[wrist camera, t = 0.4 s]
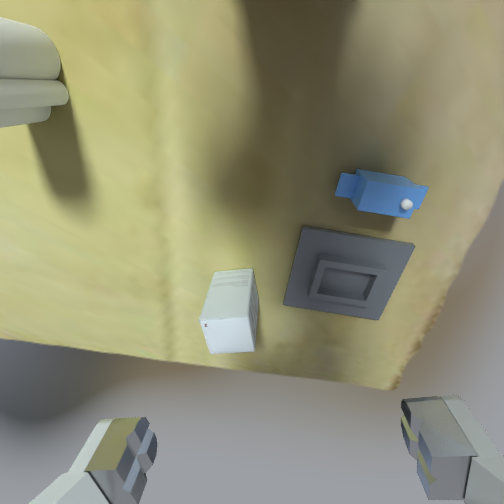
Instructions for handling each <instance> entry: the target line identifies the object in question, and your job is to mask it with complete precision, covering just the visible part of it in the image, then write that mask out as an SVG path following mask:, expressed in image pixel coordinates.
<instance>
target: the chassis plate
mask: <svg viewBox="0 0 504 504" xmlns="http://www.w3.org/2000/svg"><path fill="white" fill-rule="evenodd" d="M414 248H415V245H414V244H413V243H407V242H401V241H395V240H388V239H382V238H376V237H370V236H364V235H358V234H351V233H345V232H339V231H333V230H327V229H321V228H314V227H308V226H302V230H301V234H300V238H299V242H298V246H297V250H296V254H295V257H294V261H293V265H292V269H291V273H290V277H289V281H288V285H287V289H286V293H285V296H284V300H283V305H286V306H292V307H299V308H305V309H311V310H317V311H324V312H330V313H336V314H342V315H349V316H355V317H361V318H367V319H374V320H379V318H380V316H381V314H382V312H383V310H384V308H385V306H386V304H387V302H388V300H389V298H390V296H391V294H392V292H393V290H394V288H395V286H396V284H397V282H398V280H399V278H400V276H401V274H402V272H403V270H404V268H405V266H406V264H407V262H408V260H409V258H410V256H411V254H412V252H413V250H414Z"/></svg>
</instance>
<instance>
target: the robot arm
mask: <svg viewBox="0 0 504 504" xmlns="http://www.w3.org/2000/svg"><path fill="white" fill-rule="evenodd" d="M401 409H402V411H403V413H404V415H403V416H402V417H401V428H402V433H403V437H404V440H405V444H406V446H407V448H408V451H409V454H410V455H411V456H412V457H414V458H415V459H416V460H417V473H418V476H419V478H420V480H421V483H422V485H423V488H424V490H425V492H426V495H427V497H428V500H464V503H465V504H504V456H502V454H501V453H500V452H499V450H498V449H497V447H496V446H495V444H494V443H493V441H492V440H491V438H490V437H489V436H488V434H487V433H486V431H485V430H484V428H483V427H482V426H481V424H480V423H479V421H478V420H477V418H476V417H475V416H474V414H473V413H472V411H471V410H470V408H469V407H468V405H467V404H466V403H465V401H464V400H463V399H462V398H461V397H460V396H459V395H453V396H440V397H437V396H433V397H421V398H411V399H410V398H409V399H402V401H401ZM149 424H150V423H149V422H148V420H147V418H146V417H139V418H115V419H102V420H101V421H100V422H99V423H97V425H96V427H95V428H94V430H93V432H92V433H91V435H90V436H89V438H88V440H87V441H86V443H85V445H84V446H83V448H82V450H81V451H80V453H79V455H78V456H77V458H76V460H75V461H74V463H73V465H72V467H71V468H70V470H69V472H68V473H63V474H62V475H61V476H60V477H58V478H57V479H56V480H55V481H54V482H53V483H52V484H51V485H49V487H47V488H46V489H45V490H44V491H43V492H41V493H40V494H39V495H38V496H37V497H36V498H35V499H34V500H32V501H31V502H30V503H29V504H139V502H140V499H141V496H142V493H143V491H144V488H145V485H146V482H147V477H146V472H147V470H148V469H149V468H150V467H151V466H152V465H153V463H154V460H155V457H156V452H157V438H156V436H155V433H154V432H152V431H151V430H150V429H148V426H149Z"/></svg>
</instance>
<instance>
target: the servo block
mask: <svg viewBox="0 0 504 504" xmlns="http://www.w3.org/2000/svg"><path fill="white" fill-rule="evenodd" d="M428 188H429V187H427V186H422V185H416V184H414V183H413V182H411V181H410V180H409V179H407V178H406V177H403V176H397V175H391V174H385V173H379V172H373V171H366V170H360V169H356V172H355V175H354V174H348V173H342V172H341V174H340V178H339V181H338V184H337V188H336V191H335V196H340V197H346V198H350V199H351V201H352V203H353V204H354V206H355V207H356V209H357V210H360V211H366V212H372V213H378V214H384V215H390V216H397V217H403V218H409V219H410V217H411V214H412V212H413V210H414V209H419V207H420V205H421V203H422V201H423V199H424V197H425V194H426V192H427V190H428Z"/></svg>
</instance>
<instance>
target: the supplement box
mask: <svg viewBox="0 0 504 504" xmlns="http://www.w3.org/2000/svg"><path fill="white" fill-rule="evenodd" d="M258 304H259V298H258V294H257V288H256V283H255V278H254V272H253V268H249V269H239V270H229V271H218V272H214V275H213V278H212V282H211V285H210V288H209V291H208V294H207V297H206V300H205V303H204V306H203V309H202V312H201V315H200V318H199V322H200V324H201V327H202V330H203V333H204V336H205V339H206V342H207V345H208V348H209V351H210V353H211V354H218V353H236V352H254V351H255V342H256V327H257V315H258Z"/></svg>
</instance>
